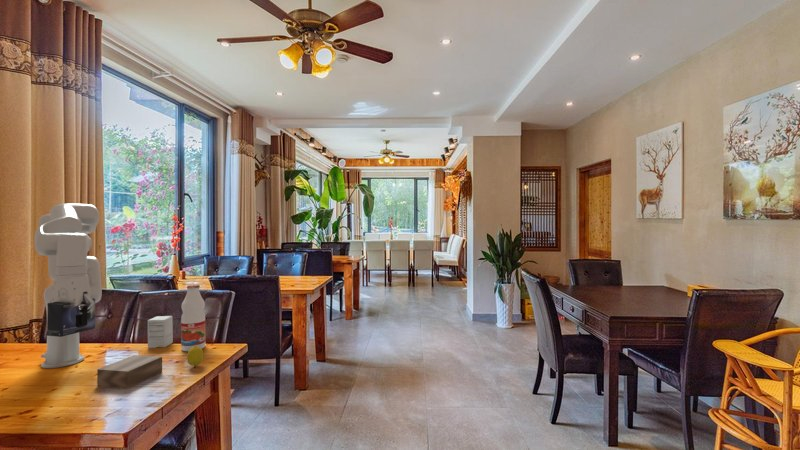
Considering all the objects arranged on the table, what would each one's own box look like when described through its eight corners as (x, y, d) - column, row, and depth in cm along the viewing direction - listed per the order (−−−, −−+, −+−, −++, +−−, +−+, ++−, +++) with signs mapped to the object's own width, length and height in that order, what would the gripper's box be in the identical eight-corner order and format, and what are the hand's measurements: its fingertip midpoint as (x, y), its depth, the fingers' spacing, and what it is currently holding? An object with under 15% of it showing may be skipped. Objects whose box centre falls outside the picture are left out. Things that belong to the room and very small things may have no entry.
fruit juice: (208, 344, 168) (207, 283, 168) (202, 350, 158) (201, 286, 159) (185, 345, 165) (185, 284, 166) (177, 352, 156) (177, 287, 157)
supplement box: (156, 343, 170) (156, 316, 170) (173, 342, 170) (173, 315, 171) (147, 348, 162) (146, 320, 163) (164, 347, 163) (164, 319, 163)
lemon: (206, 365, 142) (206, 344, 142) (194, 370, 136) (194, 348, 137) (196, 363, 144) (195, 343, 144) (183, 368, 138) (183, 347, 138)
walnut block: (97, 387, 123) (97, 369, 123) (134, 371, 137) (134, 355, 137) (127, 389, 121) (127, 371, 121) (162, 373, 135) (162, 356, 135)
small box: (61, 337, 114) (61, 303, 114) (45, 336, 116) (45, 303, 116) (96, 328, 124) (96, 297, 124) (81, 327, 126) (81, 296, 126)
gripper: (37, 272, 118) (37, 327, 118) (83, 273, 115) (83, 329, 115) (62, 269, 125) (62, 321, 125) (105, 270, 122) (105, 323, 122)
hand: (72, 325), depth 120 cm, fingers closed on small box, 6 cm apart
